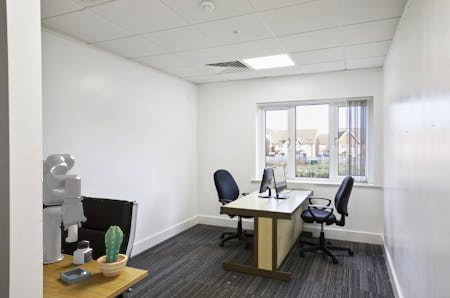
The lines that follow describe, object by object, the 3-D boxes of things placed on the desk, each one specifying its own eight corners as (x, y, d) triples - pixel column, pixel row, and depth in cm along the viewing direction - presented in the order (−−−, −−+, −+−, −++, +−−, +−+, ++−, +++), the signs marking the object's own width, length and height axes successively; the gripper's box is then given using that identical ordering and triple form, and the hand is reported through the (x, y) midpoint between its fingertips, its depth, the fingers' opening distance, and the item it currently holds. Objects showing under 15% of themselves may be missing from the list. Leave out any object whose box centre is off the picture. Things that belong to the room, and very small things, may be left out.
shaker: (63, 240, 148) (64, 221, 148) (74, 238, 152) (74, 219, 152) (68, 242, 145) (69, 223, 145) (79, 240, 149) (79, 221, 149)
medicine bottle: (84, 265, 165) (84, 244, 165) (73, 264, 166) (73, 243, 166) (92, 260, 172) (92, 240, 172) (81, 259, 173) (82, 239, 173)
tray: (59, 279, 147) (59, 273, 147) (79, 272, 155) (79, 267, 155) (70, 286, 139) (70, 279, 139) (91, 278, 147) (91, 273, 147)
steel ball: (79, 278, 147) (79, 271, 147) (85, 276, 149) (85, 269, 149) (82, 280, 145) (82, 273, 145) (88, 277, 147) (88, 271, 147)
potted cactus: (133, 270, 158) (134, 224, 158) (114, 282, 143) (114, 231, 144) (110, 266, 163) (111, 222, 163) (89, 277, 149) (90, 228, 149)
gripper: (85, 197, 157) (84, 230, 157) (51, 201, 144) (50, 238, 144) (92, 199, 152) (91, 233, 153) (57, 204, 139) (56, 241, 139)
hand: (71, 235), depth 148 cm, fingers closed on shaker, 5 cm apart
